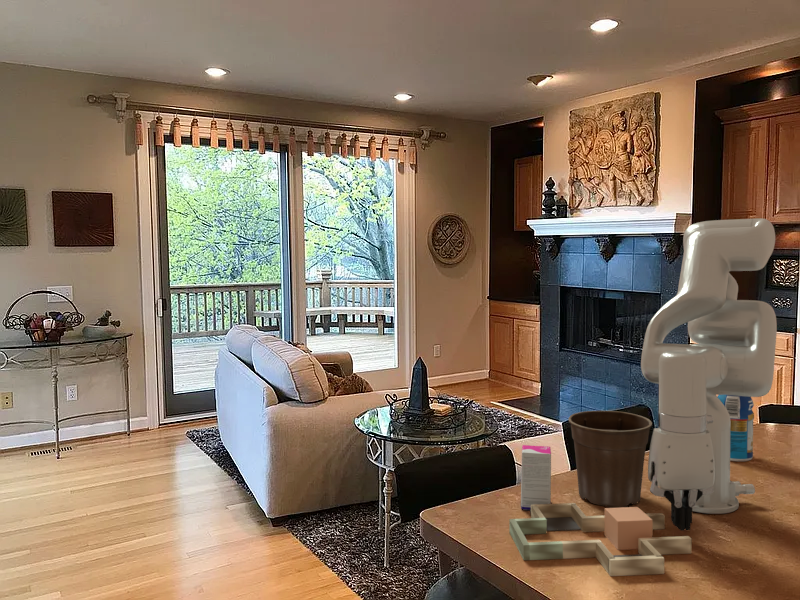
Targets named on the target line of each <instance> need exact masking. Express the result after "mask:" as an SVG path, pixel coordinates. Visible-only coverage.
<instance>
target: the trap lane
mask: <svg viewBox="0 0 800 600" xmlns="http://www.w3.org/2000/svg"><path fill="white" fill-rule="evenodd" d="M645 514H646V515H647V516H649V517H650V518H651V519H652V520H653V526H652V530H665V528H666V527H665V524H666V523H665V514H664V513H662V512H661V513H660V512H657V513H655V512H654V513H645ZM508 520H509V524H508V525H509V526H508V527H509V529H508V530H509V535H510V537H511V538H512V540H513V542H514V544H515V547H516V548H517V550H518V551H519V555H520V556H521V558H522V560H523V561H535V560H536V561H539V560H561V559H562V560H563V559H567V560H568V559H582V558H583V559H584V558H585V559H586V558H587V559H588V558H596V559H597V560H598V562H599V563H600V565H601V566H602V567H603V569H605V571H606V572H607V574H608V575H609V576H610V577H620V576H621V577H622V576H643V575H645V576H647V575H664V574H665V557H664V556H663V555H681V554H682V555H683V554H692V538H691V537H690V536H689V535H682V536H661V537H660V536H658V537H655V536H652V538H638V549H637V550H638V551H637V552H638V553H636V554H615V555H614V554H613V553H612V552H611V551H610V550H609V549H608V548H607V546H606V545H605V544H604V543H603V542H602V541H601V540H600V539H584V540H583V539H582V540H559V541H557V540H555V541H554V540H553V541H535V542H533V541H531V542H529V541H528V539H527V538H526V536H525V535H540V534H541V535H542V534H545V535H547V534H548V533H547V532H557V531H558V532H561V531H562V532H563V531H581V532H582V533H593V532H594V533H595V532H597V533H598V532H604V515H602V514H601V515H586V514H585V513H584V512H583V510H582V509H581V508H580V507H579V506H578V504H576V502H566V503H565V502H562V503H551V504H534V505H531V510H530V517H529V518H527V517H525V518H524V517H523V518H509V519H508Z"/></svg>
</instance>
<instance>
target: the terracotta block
mask: <svg viewBox="0 0 800 600" xmlns="http://www.w3.org/2000/svg"><path fill="white" fill-rule="evenodd" d="M603 510H604V513H603V514H604V531H603V533H604V534H603V535H604V537H605V538H607V540H608V541H609V542H610V543H611V544H612V545H613V546H614V548H615V549H616V550H617V551H623V550H638V538H652V537H653V529H652V526H653V520H652V519H651V518H650V517H649V516H647V515H646V514H647V513H645V511H643V510H642V509H641V508H639V507H638V506H629V507H628V506H625V507H606V508H603Z"/></svg>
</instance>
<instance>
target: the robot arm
mask: <svg viewBox="0 0 800 600" xmlns="http://www.w3.org/2000/svg"><path fill="white" fill-rule="evenodd" d="M775 231H776V230H775V227H774V225H773V224H772V222H771V221H770V220H769V219H767V218H762V217H761V218H740V219H738V218H737V219H718V220H717V219H715V220H714V219H713V220H705V221H700V222H699V221H698V222H696V223H695V222H694V223H693V224H691V225H688V227H687V228H686V229H685V231H684V233H683V239H682V241H683V243H682V244H683V255H682V262H681V269H680V275H679V281H678V288H677V293H676V295H675V296H674V297H672V298H671V299H670V300H668V301H667V302H666V303H665V304H663V305H662V306H661V307H660V308H659V310H658V311H656V313H655V314H654V315H653V316H652V318H651V319H650V321H649V322H648V325H647V327H646V331H645V334H644V339H643V343H642V344H643V345H642V351H641V356H640V357H641V358H640V359H641V360H640V368H641V373H642V376H643V377H644V378H645V379H646V380H647V381H648V382H649V383H653V384H657V385H658V427H657V428H655V427H654V428H653V431H652V435H651V439H650V445H649V451H648V452H649V453H648V462H647V463H648V464H647V477H648V478H647V479H648V481H650V482H651V484H650V488H649V491H650V493H651V494H652V495H654V496H657V497H661V498H665V499H666V500H667V501H668V502H669V503H670V519H671V524H673V526H675V527H676V528H677V529H678V530H679V531H685V530H686V531H691V524H692V523H693V512H696V513H700V514H701V513H702V514H711V515H714V514H715V515H717V514H719V515H720V514H722V515H723V514H729V513H732V512H735V511H736V510H738V509H739V507H740V506H739V503H740V501H739V499H738V497H739V496H740V495H755V493H756V488H755V485H754V484H753V483H746V484H745V483H743V484H742V483H741V482H740V481H739V480H738V481H732V480H731V461H730V427H731V421H730V415H729V413H728V411H727V409H726V407H725V406H724V405H723V403H722V402H721V401H720V400H719V398H718V397H717V396H718V395H722V394H723V395H734V396H746V397H751V398H761V397H764V396H766V395H768V393H770V390H771V389H772V385H773V381H774V375H775V374H774V372H775V360H776V359H775V358H776V348H777V347H776V345H777V331H778V330H777V327H778V326H777V325H778V324H777V316H776V313H775V310H774V308H773V307H772V305H770V303H767V302H766V301H762V300H752V299H750V300H749V299H738V293H739V285H738V283H737V280H736V279H735V277H733V275H732V274H731V273H730V272H743V271H745V272H746V271H747V272H748V271H749V272H752V271H760V270H763V268H765V266H766V265H767V263H768V262H769V259H770V257H771V256H772V254H773V252H774V249H775V246H776V245H775V244H776V232H775ZM686 323H687V333H688V336H689V338H690V340H691V341H692V342H693V343H691V344H686V343H685V344H683V343H682V344H680V343H666V342H665V343H664V340H665V338H666V337H667V336H668V335H669V334H670V332H671V331H673V330H674V329H676V328H678V327H679V326H681V325H684V324H686Z"/></svg>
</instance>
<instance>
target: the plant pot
mask: <svg viewBox="0 0 800 600" xmlns="http://www.w3.org/2000/svg"><path fill="white" fill-rule="evenodd" d="M568 423H569V424H570V430H571V438H572V439H573V444H574V453H575V456H574V457H575V464H576V473H577V474H576V476H577V486H578V487H577V488H578V489H577V490H578V495H579V497H580V498H581V499H583V500H588V501H589V503H590V504H594V505H598V506H602V507H607V508H621V507H628V505H630V504H632V505H636V504H638V503H639V502H640V500H641V497H642V485H643V475H644V464H645V457H646V454H645V453H646V447H647V444H648V443H649V435H650V429H651V428H652V426H653V422H652V421H651V420H650V419H649V418H647V417H645V416H642V415H640V414H639V415H638V414H635V413H631V412H625V411H617V410H586V411H580V412H579V411H578V412H575V413H572V414H570V416H568Z"/></svg>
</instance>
